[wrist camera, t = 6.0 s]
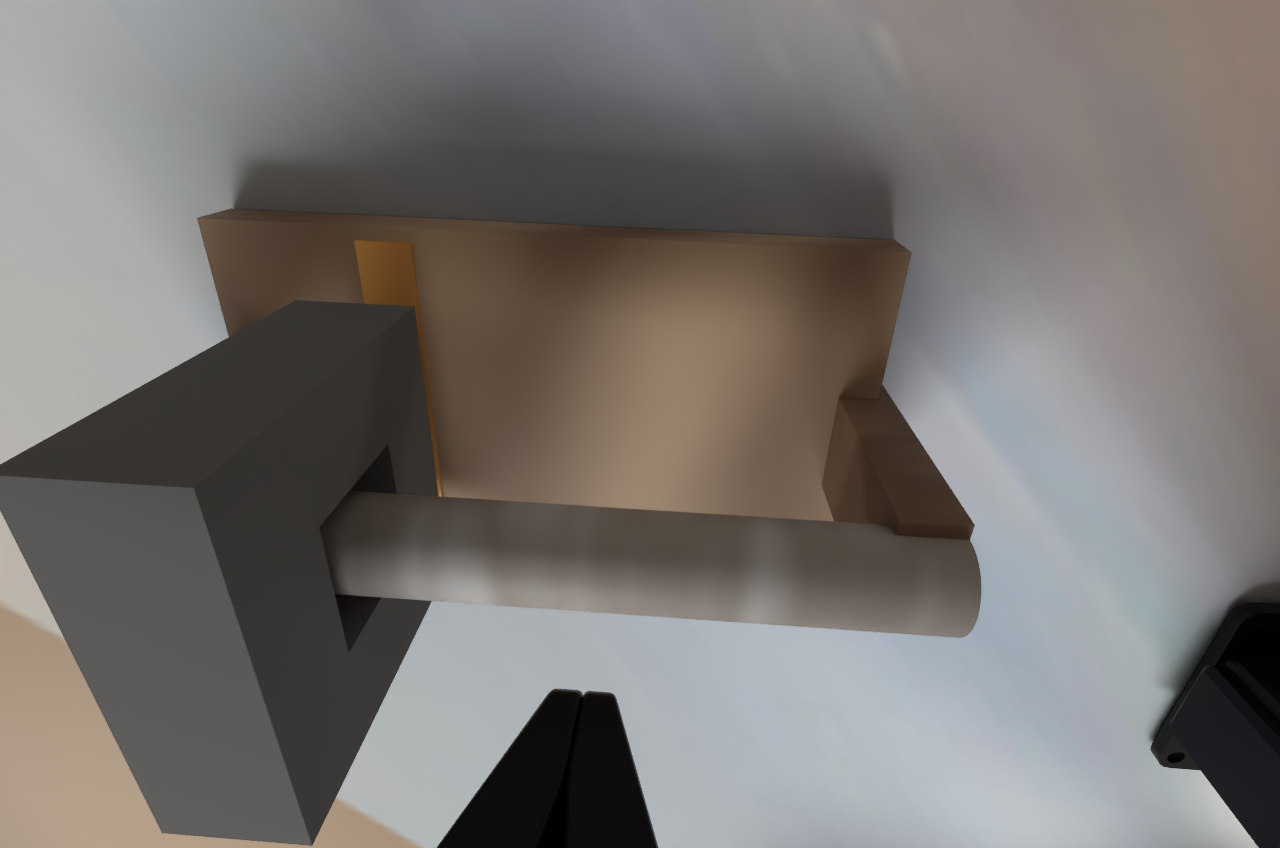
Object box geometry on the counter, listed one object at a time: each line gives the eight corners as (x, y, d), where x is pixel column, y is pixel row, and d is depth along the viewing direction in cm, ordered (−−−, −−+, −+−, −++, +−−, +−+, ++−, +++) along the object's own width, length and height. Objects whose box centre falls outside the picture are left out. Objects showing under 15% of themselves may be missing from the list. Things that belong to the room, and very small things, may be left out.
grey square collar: (414, 306, 13) (193, 488, 7) (448, 568, 16) (312, 845, 10) (296, 300, 13) (-18, 474, 7) (351, 561, 16) (162, 833, 10)
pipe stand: (908, 241, 14) (1076, 358, 8) (837, 563, 19) (914, 802, 12) (218, 207, 15) (-108, 294, 9) (298, 527, 19) (115, 739, 13)
